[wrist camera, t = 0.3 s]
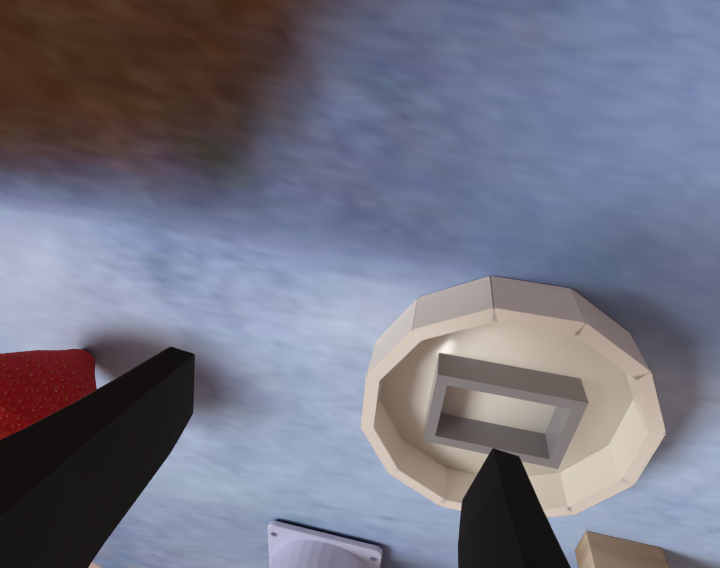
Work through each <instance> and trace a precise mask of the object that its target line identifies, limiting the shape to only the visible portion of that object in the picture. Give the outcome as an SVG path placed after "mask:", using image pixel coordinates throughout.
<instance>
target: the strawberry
mask: <svg viewBox="0 0 720 568" xmlns="http://www.w3.org/2000/svg"><path fill="white" fill-rule="evenodd" d="M95 390H97V389H96V381H95V360H94V358H93V356H92V355H91V354H90V353H89V352H87V351H85V350H81V349H69V350H58V351H56V350H35V351H25V352H14V353H4V354H0V440H1V439H3V438H5V437H7V436H9V435H11V434H13V433H15V432H18V431H20V430H22V429H24V428H26V427H28V426H30V425H32V424H34V423H35V422H37V421H39V420H41V419H43V418H45V417H47V416H49V415H51V414H53V413H55V412H57V411H59V410H61V409H63V408H65V407H66V406H68V405H70V404H72V403H74V402H76V401H78V400H79V399H81V398H83V397H85V396H86V395H88V394H90V393H92V392H93V391H95Z"/></svg>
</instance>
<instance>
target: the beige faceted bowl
mask: <svg viewBox="0 0 720 568" xmlns="http://www.w3.org/2000/svg"><path fill="white" fill-rule="evenodd" d="M361 429H362V431H363V432H364V434H365V435H366V437H367V439H368V440H369V442H370V444H371V445H372V447H373V449H374V450H375V452H376V454H377V455H378V457H379V459H380V460H381V462H382V464H383V465H384V467H385V468H386V470H387V472H388V473H389V474H390V475H392V476H393V477H395V478H397V479H398V480H400V481H401V482H403V483H404V484H406V485H408V486H409V487H411V488H412V489H414V490H415V491H417V492H419V493H420V494H422V495H423V496H425V497H426V498H428V499H430V500H431V501H433V502H434V503H436V504H437V505H439V506H440V505H441V506H442V507H446V508H451V509H455V510H459V511H461V507H462V499H463V498H464V496H465V494H466V493H467V491H468V489H469V487H470V486H471V484H472V482H473V481H474V479H475V477H476V475H477V474H478V472H479V470H480V469H481V467H482V465H483V463H484V462H485V460H486V458H487V457H488V455H489V453H490V451H491V450H492V448H494V449H498V450H501V451H504V452H507V453H510V454H514V455H517V456H519V457H520V459H521V461H522V463H523V466H524V468H525V470H526V472H527V475H528V477H529V479H530V481H531V484H532V486H533V488H534V491H535V493H536V495H537V497H538V500H539V502H540V504H541V506H542V508H543V511H544V513H545V515H546V517H555V516H566V515H574V514H577V513H579V512H581V511H583V510H585V509H587V508H589V507H591V506H593V505H595V504H597V503H599V502H601V501H603V500H605V499H607V498H609V497H611V496H613V495H615V494H617V493H619V492H621V491H623V490H625V489H627V488H629V487H631V486H633V484H635V483H636V481H637V480H638V478H639V477H640V475H641V473H642V472H643V470H644V469H645V467H646V465H647V464H648V462H649V460H650V459H651V457H652V456H653V454H654V452H655V451H656V449H657V448H658V446H659V444H660V443H661V441H662V439H663V438H664V436H665V435H666V434H665V433H666V431H665V427H664V423H663V418H662V414H661V410H660V406H659V402H658V398H657V393H656V389H655V385H654V381H653V377H652V373H651V371H650V369H649V367H648V365H647V364H646V362H645V360H644V358H643V356H642V354H641V353H640V351H639V349H638V347H637V345H636V344H635V342H634V340H633V338H632V336H631V334H630V333H629V332H628V331H627V330H625V329H624V328H623V327H622V326H620V325H619V324H618V323H616V322H615V321H614V320H612V319H611V318H610V317H608V316H607V315H606V314H604V313H603V312H602V311H601V310H599V309H598V308H597V307H595V306H594V305H593V304H591V303H590V302H589V301H587V300H586V299H585V298H583V297H582V296H581V295H580V294H578V293H577V292H576V291H574V290H573V289H572V290H571V288H565V287H559V286H553V285H546V284H540V283H533V282H527V281H521V280H514V279H508V278H502V277H495V276H491V278H490V276H488V277H484V278H481V279H478V280H474V281H471V282H468V283H464V284H461V285H458V286H454V287H451V288H447V289H444V290H441V291H437V292H434V293H431V294H427V295H424V296H421V297H418V298H417V299H416V300H415V301H414V302H413V303H412V304H411V305H410V306H409V307H408V308H407V309H406V310H405V311H404V312H403V313H402V314H401V315H400V316H399V317H398V318H397V319H396V320H395V322H394V323H393V324H392V325H391V326H390V327H389V328H388V329H387V330H386V331H385V332H384V333H383V334H382V335H381V336H380V337H379V338H378V339H377V340H376V342H375V346H374V350H373V353H372V357H371V360H370V364H369V368H368V371H367V375H366V382H365V391H364V401H363V410H362V420H361ZM573 513H574V514H573Z"/></svg>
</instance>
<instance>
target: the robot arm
mask: <svg viewBox="0 0 720 568" xmlns="http://www.w3.org/2000/svg"><path fill="white" fill-rule="evenodd" d="M194 362H195V354H193V353H189V352H186V351H183V350H180V349H177V348H173V347H169V348H167V349H165V350H164V351H162V352H160V353H158V354H157V355H155V356H153V357H152V358H150V359H148V360H147V361H145V362H143V363H142V364H140V365H138V366H137V367H135V368H133V369H132V370H130V371H128V372H126V373H125V374H123V375H121V376H120V377H118V378H116V379H115V380H113V381H111V382H109V383H108V384H106V385H104V386H102V387H101V388H99V389H97V390H95V391H93V392H92V393H90V394H88V395H86V396H85V397H83V398H81V399H79V400H78V401H76V402H74V403H72V404H70V405H68V406H66V407H65V408H63V409H61V410H59V411H57V412H55V413H53V414H51V415H49V416H47V417H45V418H43V419H41V420H39V421H37V422H35V423H34V424H32V425H30V426H28V427H26V428H24V429H22V430H20V431H18V432H15V433H13V434H11V435H9V436H7V437H5V438H3V439H1V440H0V568H88V567H89V565H90V564H91V562H92V561H93V559H94V558H95V556H96V555H97V553H98V552H99V550H100V549H101V547H102V546H103V544H104V543H105V542H106V540H107V539H108V537H109V536H110V535H111V533H112V532H113V531H114V529H115V528H116V527H117V525H118V524H119V522H120V521H121V520H122V518H123V517H124V516H125V514H126V513H127V512H128V510H129V509H130V508H131V506H132V505H133V503H134V502H135V501H136V499H137V498H138V497H139V495H140V494H141V493H142V491H143V490H144V489H145V487H146V486H147V484H148V483H149V482H150V480H151V479H152V478H153V476H154V475H155V473H156V472H157V471H158V469H159V468H160V467H161V465H162V464H163V462H164V461H165V460H166V458H167V457H168V455H169V454H170V453H171V451H172V449H173V448H174V446H175V444H176V443H177V441H178V439H179V437H180V436H181V434H182V432H183V430H184V429H185V427H186V425H187V423H188V421H189V420H190V418H191V416H192V414H193V398H194ZM268 545H269V562H270V567H269V568H380V565H381V560H382V554H383V550H382V549H381V548H380V547H379V546H376V545H372V544H368V543H364V542H360V541H356V540H352V539H348V538H343V537H339V536H335V535H331V534H327V533H323V532H319V531H315V530H311V529H307V528H303V527H299V526H295V525H290V524H286V523H282V522H278V521H271V522H269V525H268ZM458 568H571V567H570V565H569V563H568V561H567V559H566V557H565V555H564V553H563V551H562V549H561V547H560V545H559V543H558V541H557V539H556V537H555V534H554V532H553V530H552V528H551V526H550V524H549V522H548V519H547V517H546V515H545V513H544V511H543V508H542V506H541V504H540V502H539V500H538V497H537V495H536V493H535V491H534V488H533V486H532V484H531V481H530V479H529V477H528V475H527V472H526V470H525V468H524V466H523V463H522V461H521V459H520V457H519V456H517V455H514V454H510V453H507V452H504V451H501V450H498V449H494V448H492V450H491V451H490V453H489V455H488V457H487V458H486V460H485V462H484V463H483V465H482V467H481V469H480V470H479V472H478V474H477V475H476V477H475V479H474V481H473V482H472V484H471V486H470V487H469V489H468V491H467V493H466V494H465V496H464V498H463V499H462V507H461V517H460V528H459V541H458Z"/></svg>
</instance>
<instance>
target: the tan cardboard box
mask: <svg viewBox="0 0 720 568" xmlns="http://www.w3.org/2000/svg"><path fill="white" fill-rule="evenodd" d="M575 554H576V558H577V563H578V568H669V566H668V564H667V561H666V558H665V556H664V553H663V550H662V548H660V547H656V546H651V545H647V544H642V543H638V542H633V541H629V540H625V539H620V538H616V537H611V536H607V535H602V534H598V533H594V532H589V531H586V532H585V533H584V535H583V537H582V539H581V540H580V542H579V544H578V546H577V547H576V549H575Z"/></svg>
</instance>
